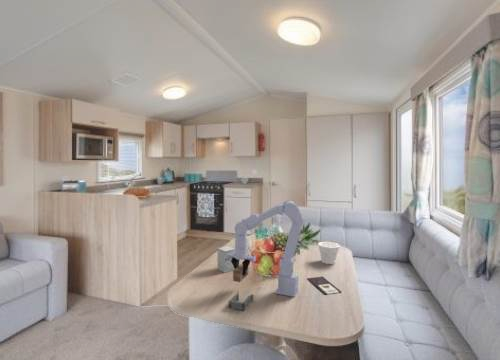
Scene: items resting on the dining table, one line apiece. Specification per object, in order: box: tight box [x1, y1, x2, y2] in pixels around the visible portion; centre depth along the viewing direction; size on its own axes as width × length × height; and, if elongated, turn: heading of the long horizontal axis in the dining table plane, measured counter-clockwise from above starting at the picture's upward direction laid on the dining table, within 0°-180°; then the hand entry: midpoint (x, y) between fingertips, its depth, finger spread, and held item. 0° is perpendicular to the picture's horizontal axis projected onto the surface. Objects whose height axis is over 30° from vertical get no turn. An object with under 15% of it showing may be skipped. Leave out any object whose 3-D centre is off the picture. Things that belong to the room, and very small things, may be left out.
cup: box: [318, 241, 340, 265], centre depth 178 cm, size 12×12×11 cm
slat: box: [232, 263, 249, 283], centre depth 139 cm, size 10×4×5 cm, turn 157°
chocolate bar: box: [307, 276, 342, 296], centre depth 145 cm, size 9×1×18 cm
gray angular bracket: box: [228, 291, 254, 312], centre depth 127 cm, size 8×10×3 cm
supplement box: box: [217, 245, 235, 273], centre depth 165 cm, size 7×7×13 cm
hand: (241, 273), depth 139 cm, fingers closed on slat, 3 cm apart
